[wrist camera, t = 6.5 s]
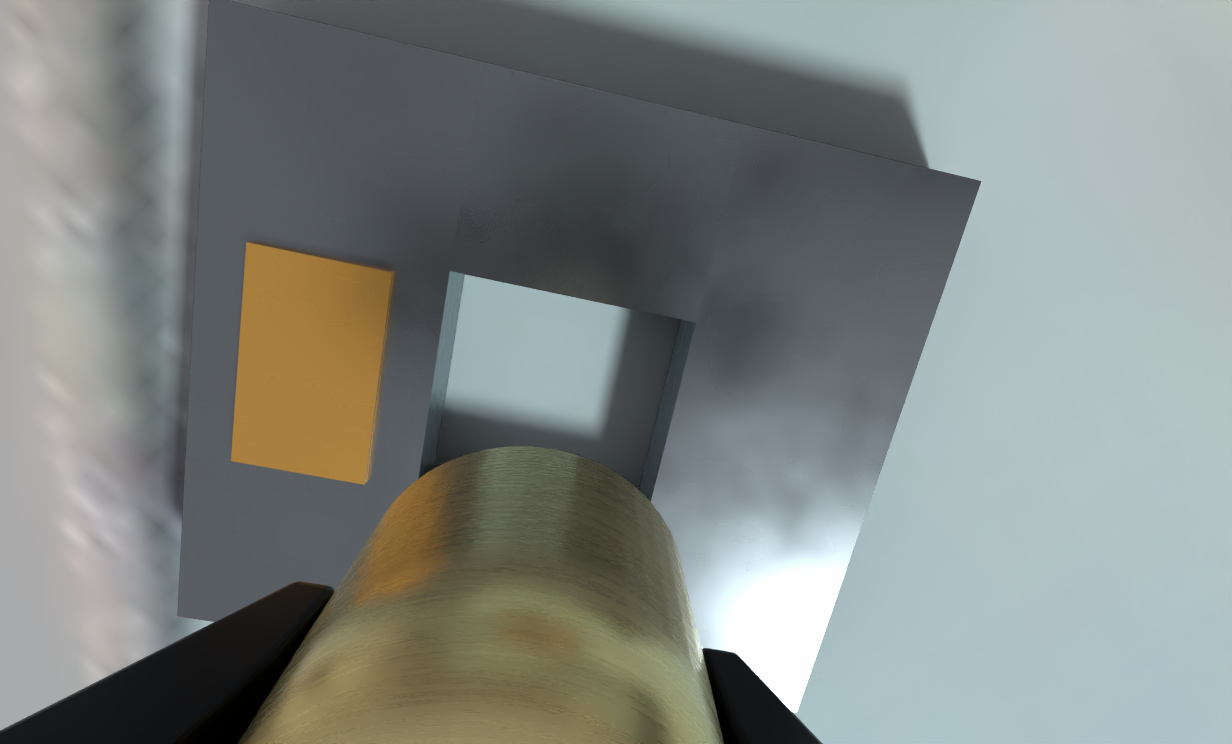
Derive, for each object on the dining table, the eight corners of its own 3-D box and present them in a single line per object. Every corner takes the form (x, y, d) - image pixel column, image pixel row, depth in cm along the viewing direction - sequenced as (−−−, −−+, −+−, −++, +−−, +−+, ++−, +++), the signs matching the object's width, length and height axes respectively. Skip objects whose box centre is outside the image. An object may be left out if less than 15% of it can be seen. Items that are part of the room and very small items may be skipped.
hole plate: (934, 182, 16) (986, 181, 14) (776, 661, 20) (799, 718, 17) (259, 21, 15) (202, -8, 12) (221, 570, 18) (172, 621, 16)
